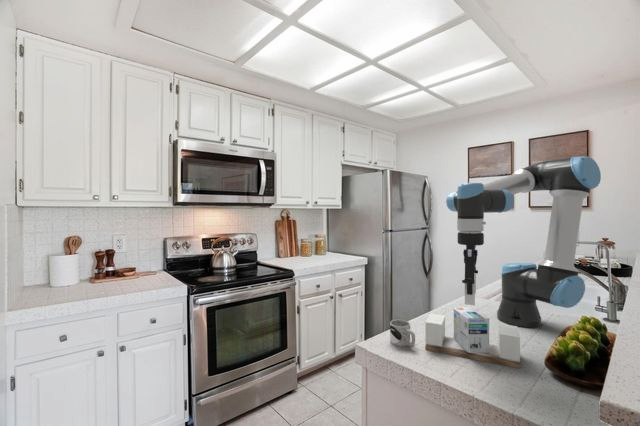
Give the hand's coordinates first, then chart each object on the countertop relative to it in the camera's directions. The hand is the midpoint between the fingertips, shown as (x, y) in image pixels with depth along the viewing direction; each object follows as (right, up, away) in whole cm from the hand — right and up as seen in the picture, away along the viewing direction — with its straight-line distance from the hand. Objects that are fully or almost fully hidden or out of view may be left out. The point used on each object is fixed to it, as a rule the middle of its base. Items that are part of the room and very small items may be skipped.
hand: (470, 298), depth 99 cm
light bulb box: (0, -15, +1) cm, 15 cm away
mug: (-20, -17, +6) cm, 27 cm away
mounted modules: (0, -15, 0) cm, 15 cm away
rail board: (0, -17, 0) cm, 17 cm away
